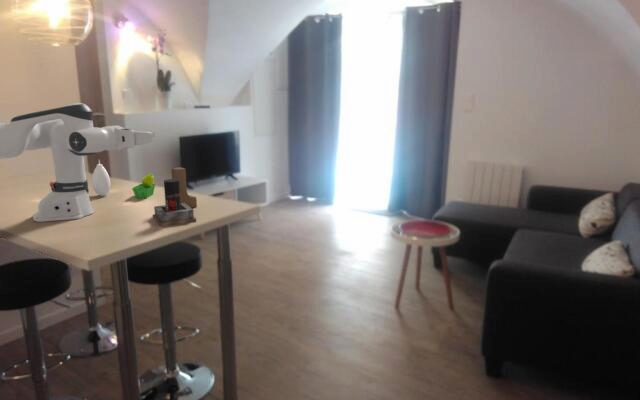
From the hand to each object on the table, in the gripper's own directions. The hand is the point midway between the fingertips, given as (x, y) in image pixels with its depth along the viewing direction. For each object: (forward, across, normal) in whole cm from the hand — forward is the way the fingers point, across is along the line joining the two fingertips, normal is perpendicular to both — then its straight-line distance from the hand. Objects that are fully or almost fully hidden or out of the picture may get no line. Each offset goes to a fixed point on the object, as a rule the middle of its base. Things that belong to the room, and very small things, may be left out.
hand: (144, 134), depth 186 cm
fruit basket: (+23, -30, -34) cm, 51 cm away
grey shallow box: (+2, +11, -34) cm, 36 cm away
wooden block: (+18, +2, -34) cm, 39 cm away
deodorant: (+2, +11, -33) cm, 35 cm away
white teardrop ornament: (+13, -48, -34) cm, 61 cm away
